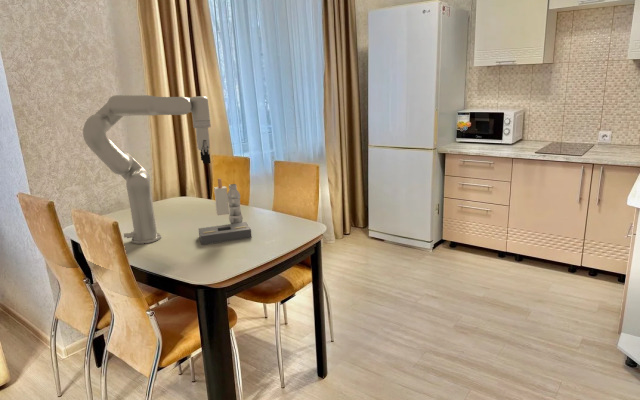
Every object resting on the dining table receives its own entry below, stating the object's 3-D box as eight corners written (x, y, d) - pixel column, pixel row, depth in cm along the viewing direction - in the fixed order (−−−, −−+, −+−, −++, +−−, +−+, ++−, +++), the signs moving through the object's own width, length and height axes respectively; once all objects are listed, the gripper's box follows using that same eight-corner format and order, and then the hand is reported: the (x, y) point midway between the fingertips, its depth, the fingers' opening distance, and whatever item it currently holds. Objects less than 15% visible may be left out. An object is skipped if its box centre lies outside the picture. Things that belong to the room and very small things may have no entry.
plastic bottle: (240, 226, 217) (236, 186, 212) (227, 225, 218) (223, 186, 213) (245, 222, 223) (241, 183, 218) (232, 221, 225) (228, 183, 220)
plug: (217, 215, 196) (214, 180, 192) (216, 213, 200) (213, 178, 196) (229, 214, 198) (225, 179, 194) (227, 211, 202) (224, 177, 198)
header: (201, 245, 193) (200, 235, 192) (199, 236, 204) (198, 227, 203) (251, 237, 200) (250, 228, 199) (246, 229, 211) (245, 221, 210)
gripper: (191, 123, 206) (195, 159, 211) (194, 126, 191) (199, 165, 195) (208, 122, 209) (211, 158, 213) (212, 125, 193) (216, 163, 197)
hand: (205, 161), depth 204 cm, fingers open, 9 cm apart
